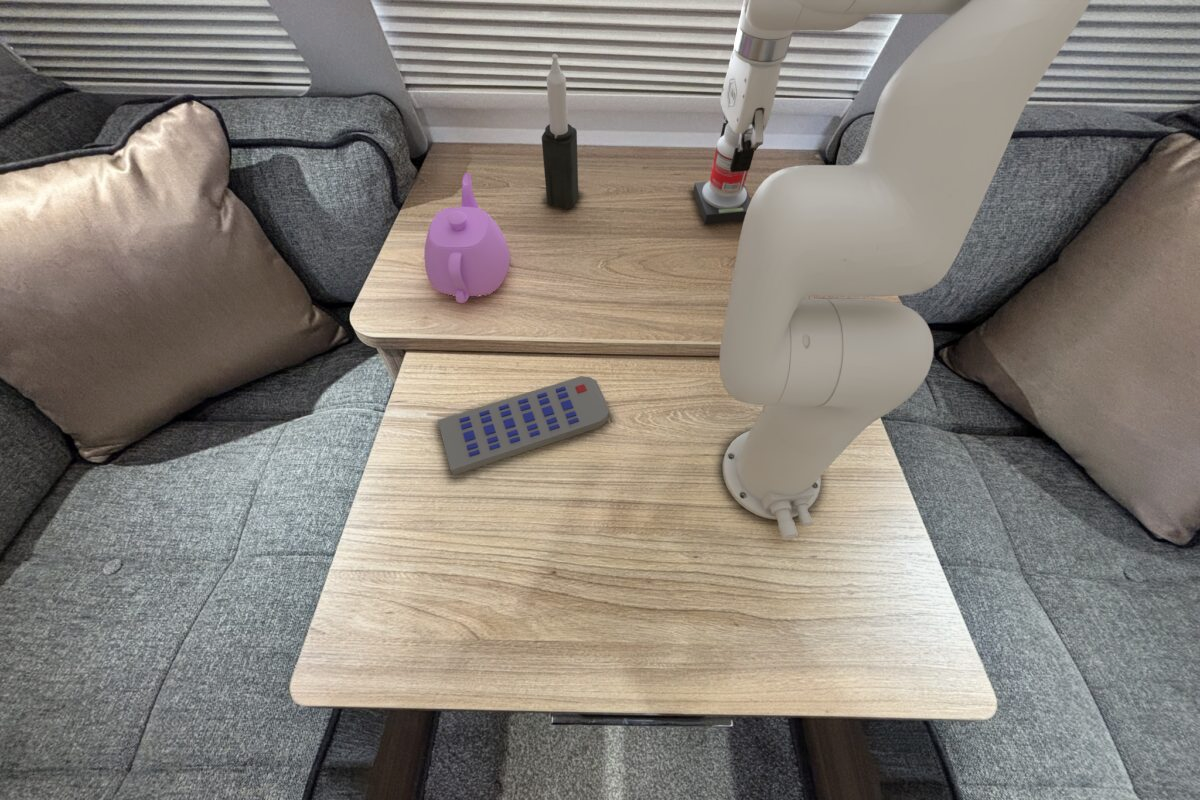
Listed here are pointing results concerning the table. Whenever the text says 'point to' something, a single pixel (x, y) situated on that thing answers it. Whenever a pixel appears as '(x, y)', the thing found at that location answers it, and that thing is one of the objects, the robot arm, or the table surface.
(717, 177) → the pill bottle
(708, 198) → the scale
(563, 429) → the remote control
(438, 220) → the teapot
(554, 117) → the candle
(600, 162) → the table surface
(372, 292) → the table surface
